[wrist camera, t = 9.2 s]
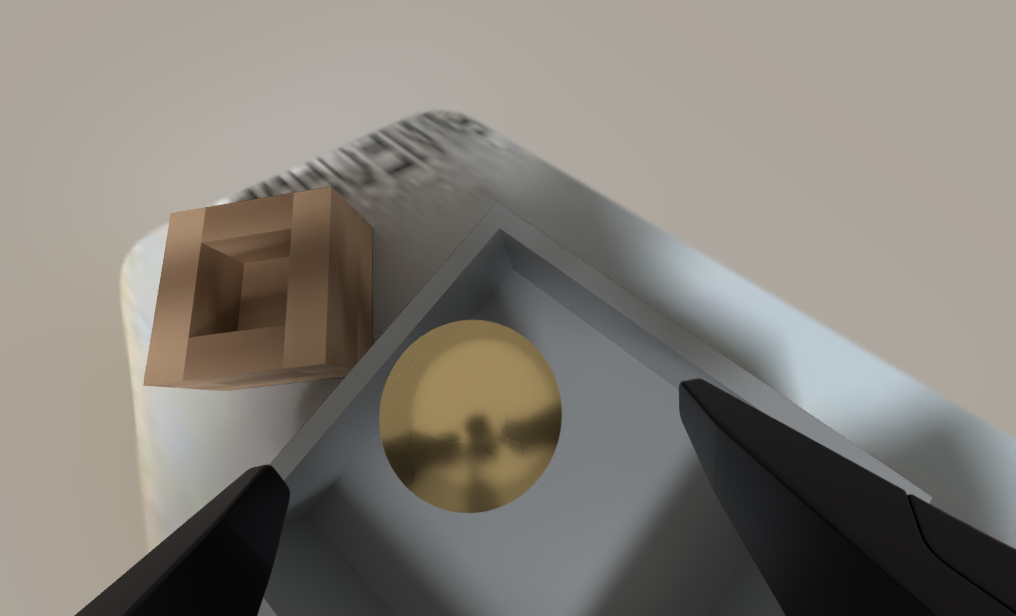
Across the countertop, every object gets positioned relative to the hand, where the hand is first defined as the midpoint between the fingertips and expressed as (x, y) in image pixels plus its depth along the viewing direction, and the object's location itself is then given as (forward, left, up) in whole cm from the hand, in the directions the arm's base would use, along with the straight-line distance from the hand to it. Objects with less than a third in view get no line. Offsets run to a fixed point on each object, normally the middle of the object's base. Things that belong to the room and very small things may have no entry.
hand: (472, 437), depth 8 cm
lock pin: (+1, 0, -9) cm, 9 cm away
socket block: (+7, +11, -10) cm, 16 cm away
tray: (-3, -1, -10) cm, 10 cm away
